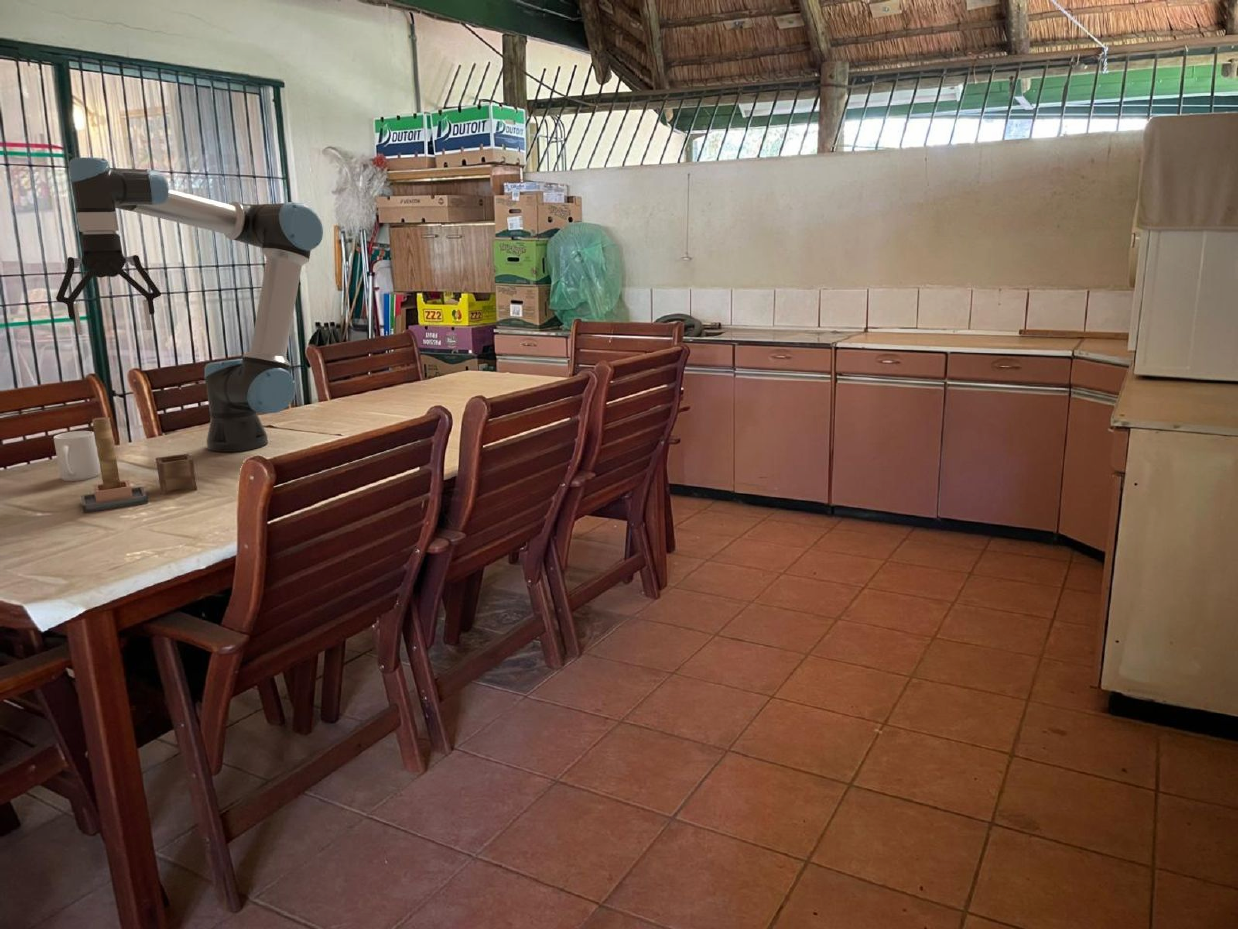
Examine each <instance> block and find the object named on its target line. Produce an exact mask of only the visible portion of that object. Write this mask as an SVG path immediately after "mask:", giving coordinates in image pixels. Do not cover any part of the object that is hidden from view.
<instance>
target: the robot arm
mask: <svg viewBox="0 0 1238 929" xmlns="http://www.w3.org/2000/svg"><path fill="white" fill-rule="evenodd" d="M68 165H69V170H68V171H69V178H70V179H69V181H70V183H71V189H72V194H73V198H74V199H73V200H74V205H75V211H76V212H75V213H76V218H77V219H76V220H77V225H78V231H79V232H81V233H82V234H81V235H80V236H79V238H80V244H81V250H82V257H81V258H79V257H78V258H77V257H72V256H69V257H67V268H66V270H65V271H66V272H65V273H64V276H63V279H62V281H61V283H60V286H59V289H58V292H57V294H56V297H55V299H56V301H57V302H58V303H62V304H65V305H66V308H67V312H68V317H69V319H70V320H75V325H76V330H77V335H78V336H82V335H83V331H82V324H81V318H80V313H79V307H78V306H79V305H78V303H74V302H75V301H76V300H77V298H78V297H79V296H80V294H81V293H82V292H83V290H84V289H85V288H86V286H87V285H88V283H89V282H90V281H91V280H92V279H93V278H94V276H95V277H96V278H105V277H109V278H115V277H117V276H118V275H119V276H120V278H122V279H124V280H125V281H126V282H127V283H128V284H129V285H130V286H131V287H133V288H134V289H135V290H136V291H137V292H138V293H140V295H142V296H143V297H144V298H145V299H142V304H143V312H144V318H145V325H146V330H148V331H152V321H151V315H155V313H156V311H155V306H154V299H156V298H159V297H161V296H162V293H161V291H160V290H159V288H158V286H156V284H155V282H154V281H153V280H152V279H151V277H150V275H149V274H148V273H147V271H146V270H145V268H144V267H143V266H142V263H141V260H140V256H139V255H137V254H134V255H129V256H124V254H123V249H122V242H121V236H120V234H118V233H117V232H118V231H119V223H118V217H117V209H119V210H123V211H129V212H133V213H136V214H141V215H146V216H148V217H153V218H158V219H162V220H166V221H171V222H174V223H179V224H183V225H188V226H191V227H195V228H198V229H204V230H208V231H212V232H217V233H220V234H223V235H224V236H225V238H227V239H228V240H233V241H237V242H239V243H243V244H247V245H251V246H254V247H256V248H261V252H262V253H263V255H264V256H265V258H266V261H265V266H264V271H263V272H264V273H263V279H262V284H261V289H260V296H259V300H258V305H257V306H258V307H257V311H256V317H255V323H254V330H253V335H252V339H251V345H250V350H249V351H248V352H246V353H245V354H243V355H242V358H236V359H230V360H229V359H228V360H221V361H216V362H210V363H207V364H205V366H204V377H203V378H204V380H205V387H206V394H207V395H206V396H207V400H208V402H207V403H208V408H209V415H210V423H209V427H208V432H207V435H206V436H207V437H206V446H207V447H206V449H207V450H209V451H210V452H211V451H212V452H217V453H229V452H231V453H232V452H233V453H234V452H241V451H242V452H243V451H249V450H254V449H258V448H262V447H265V446H266V445H268V443H269V442H268V441H269V440H268V434H267V432H266V430H265V428H264V426H263V423H262V422H261V419H260V417H259V415H258V413H259V414H262V415H264V414H265V415H267V414H277V413H281V412H282V411H284V410H285V409H287V408H288V407H289V406H290V405H291V403H293V401H294V398H295V395H296V390H297V385H296V380H294V377H293V375H292V374H291V373H290V371H291V363H290V361H289V360H288V359H287V353H288V346H289V342H290V341H289V340H290V336H291V329H292V324H293V318H294V312H295V306H296V300H297V295H298V289H299V283H300V280H301V272H302V267H303V266H304V265H306V264H307V263H309V262H310V257H311V251H313V250H314V249H316V247H318V246H320V244H321V242H322V240H323V237H324V229H323V228H324V227H323V223H322V220H321V219H320V218H319V215H318V214H317V212H316V211H315V210H314V209H313V208H312V207H311V206H309V205H308V204H304V203H301V202H293V201H289V202H283V203H280V202H279V203H262V204H250V203H249V204H248V203H242V202H238V201H231V202H229V203H228V202H222V201H219V200H215V199H212V198H211V199H210V198H207V197H204V196H200V195H196V194H192V193H188V192H185V191H181V190H177V189H173V188H170V187H169V183H168V180H167V178H166V176H165V175H164V173H162V172H161V171H159V170H155V169H153V170H152V169H148V168H145V169H135V168H134V169H133V168H129V169H128V168H127V169H126V168H123V169H122V168H118V169H117V168H113V167H111V166H110V164H109V161H108V159H106V158H104V157H102V158H100V157H74V158H71V159H70V160H69V163H68ZM126 263H129V265H131V266H134V267H135V270H136V271H137V272H138V274H139V275H140V277H141V278H142V279H143V281H144V282H145V284H146V285H147V286H148V288H149V289H150V290H151V292H149V291H147V290H146V289H145V287H143V286H142V285H140V283H138V281H136V280H135V279H134V278H133V277H132V276H130V275H129V274H128V273H127V272H126V271H125V270H124V269H123V268H124V266H125V264H126ZM81 264H82V265H83V266H84V267H85V268H86V269H87V271H86V273H85V274H84V275H83V277H82V278H81V280H80V281H79V282H78V283H77V285H76V287H75V288H74V289H73V291H71V293H70V295H68V297H67V296H65V295H66V294H67V293H66V292H67V290H68V287H69V285H70V282H71V280H72V277H73V275H74V272H75V269H77V268H79V265H81Z"/></svg>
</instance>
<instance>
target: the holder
mask: <svg viewBox="0 0 1238 929" xmlns="http://www.w3.org/2000/svg"><path fill="white" fill-rule="evenodd" d="M120 485H121V488H114V489H107V490H104V487H103V483H97V484H93V485H92V487H93V492H94V493H93V494H95V499H96V503H100V502H106V501H113V500H119V499H126V498H133V495H132V489H131V488H132V486H131V483H130V480H129V479H126V480H120Z"/></svg>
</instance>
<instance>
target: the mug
mask: <svg viewBox="0 0 1238 929" xmlns="http://www.w3.org/2000/svg"><path fill="white" fill-rule="evenodd" d="M53 442H54V443H53V444H54V448H55V453H56V458H57V464H58V469H59V471H58V472H59V474H60V478H61V480H63V481H66V482H78V481H86V480H91V479H94V478H96V477H98V476H100V475H101V469H100V463H99V457H98V451H97V445H96V439H95V433H94V431H90V430H78V431H75V430H74V431H68V432H62V433H59V434H57V435H54V436H53Z"/></svg>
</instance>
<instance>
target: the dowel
mask: <svg viewBox="0 0 1238 929" xmlns="http://www.w3.org/2000/svg"><path fill="white" fill-rule="evenodd" d="M91 420H92V427H93V432H94V437H95V443H96V448H97V454H98V460H99V466H100V475H101V480H102V484H103V487H104V490H107V489H114V488H121V485H120V481H121V480H120V473H119V468H118V461H117V455H116V449H115V443H114V439H113V438H114V436H113V431H112V424H111V418H110V416H109V417H105V416H104V417H102V416H101V417H95V418H92V419H91Z"/></svg>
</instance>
